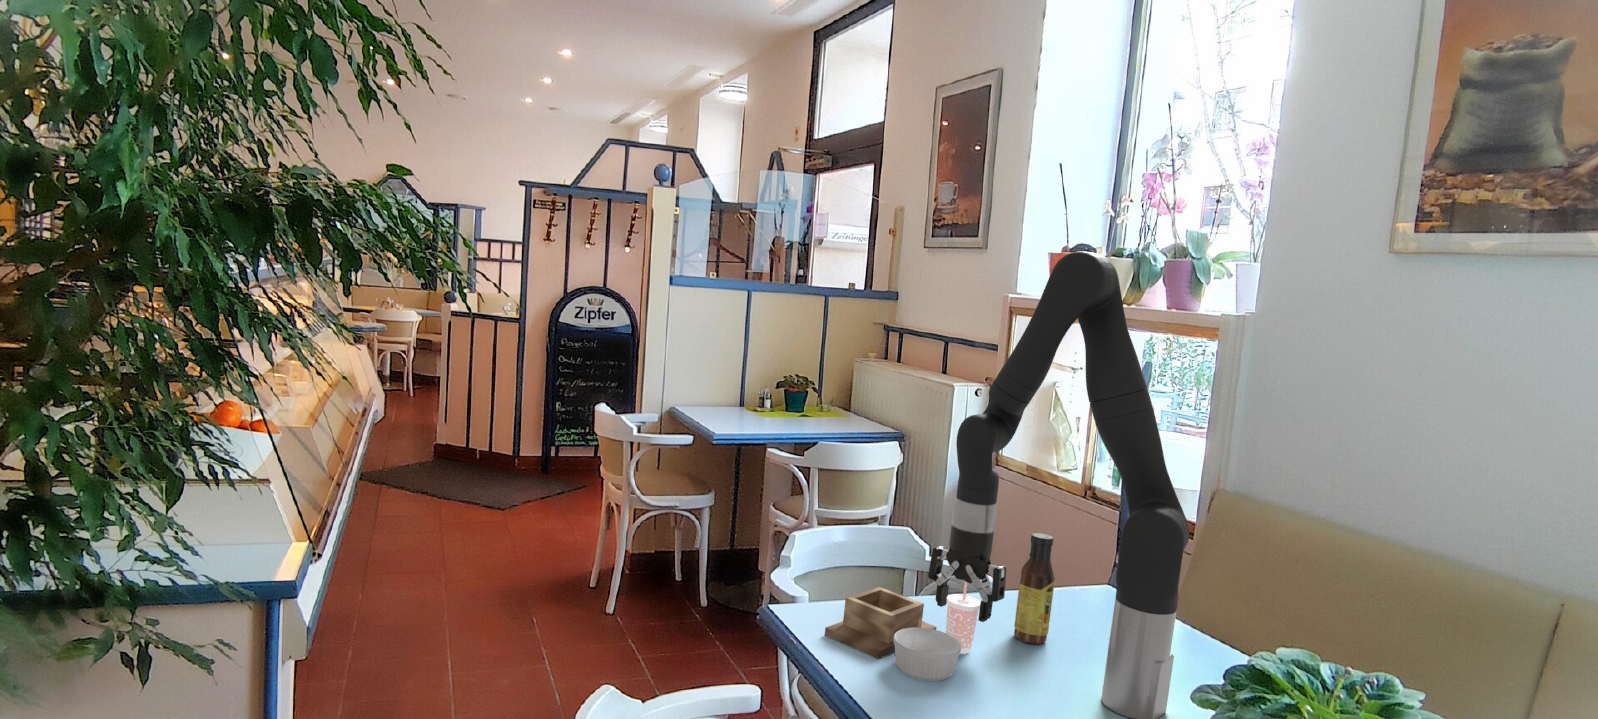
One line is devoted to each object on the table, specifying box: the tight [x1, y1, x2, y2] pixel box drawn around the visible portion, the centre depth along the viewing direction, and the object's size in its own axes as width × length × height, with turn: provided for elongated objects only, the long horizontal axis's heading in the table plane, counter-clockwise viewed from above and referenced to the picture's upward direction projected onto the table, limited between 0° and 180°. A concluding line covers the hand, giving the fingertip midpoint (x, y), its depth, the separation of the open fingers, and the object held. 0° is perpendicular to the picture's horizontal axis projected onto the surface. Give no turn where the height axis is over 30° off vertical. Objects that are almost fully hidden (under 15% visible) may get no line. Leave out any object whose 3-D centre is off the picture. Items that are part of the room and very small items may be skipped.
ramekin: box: [893, 628, 961, 682], centre depth 153 cm, size 11×11×5 cm
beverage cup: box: [945, 581, 981, 655], centre depth 163 cm, size 6×6×14 cm
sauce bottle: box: [1013, 532, 1056, 645], centre depth 171 cm, size 7×6×20 cm
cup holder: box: [824, 586, 938, 660], centre depth 166 cm, size 12×18×6 cm, turn 139°
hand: (961, 612), depth 163 cm, fingers open, 8 cm apart
